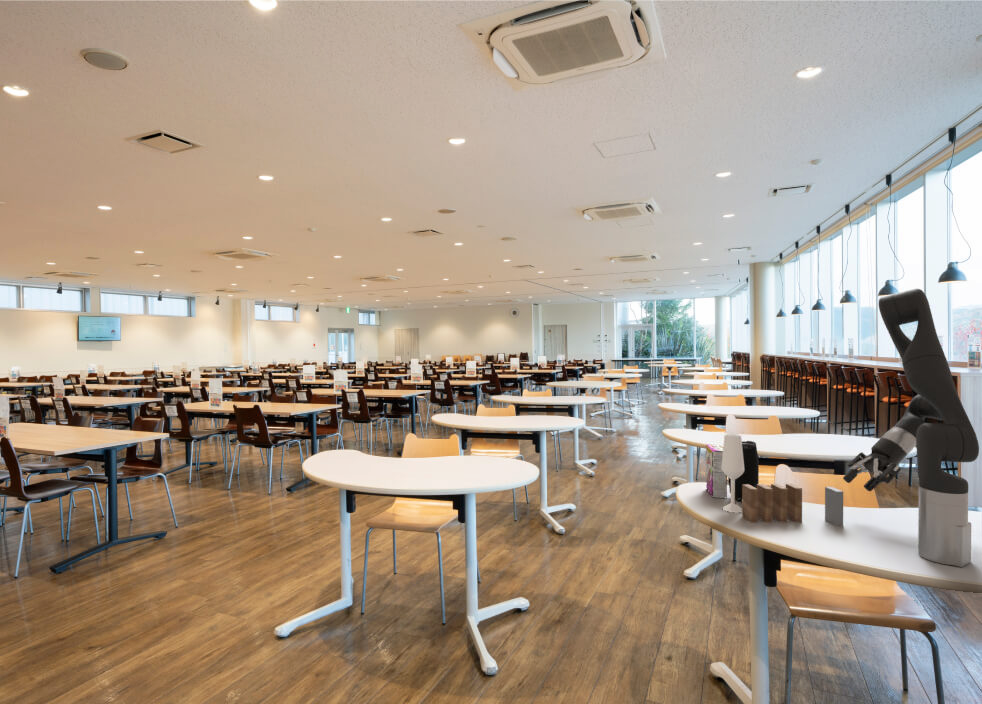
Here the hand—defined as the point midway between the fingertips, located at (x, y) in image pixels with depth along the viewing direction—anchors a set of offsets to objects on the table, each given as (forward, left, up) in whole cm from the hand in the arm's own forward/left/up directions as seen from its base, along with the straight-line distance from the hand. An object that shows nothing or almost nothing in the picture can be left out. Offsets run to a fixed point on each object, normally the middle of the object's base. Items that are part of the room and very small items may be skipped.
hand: (855, 484), depth 154 cm
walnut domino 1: (+18, +24, -11) cm, 32 cm away
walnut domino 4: (+12, +12, -11) cm, 20 cm away
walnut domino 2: (+16, +20, -11) cm, 28 cm away
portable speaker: (+31, +7, -11) cm, 34 cm away
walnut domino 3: (+14, +16, -11) cm, 24 cm away
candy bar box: (+40, +9, -11) cm, 43 cm away
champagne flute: (+27, +20, -11) cm, 35 cm away
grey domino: (+3, +6, -11) cm, 13 cm away
